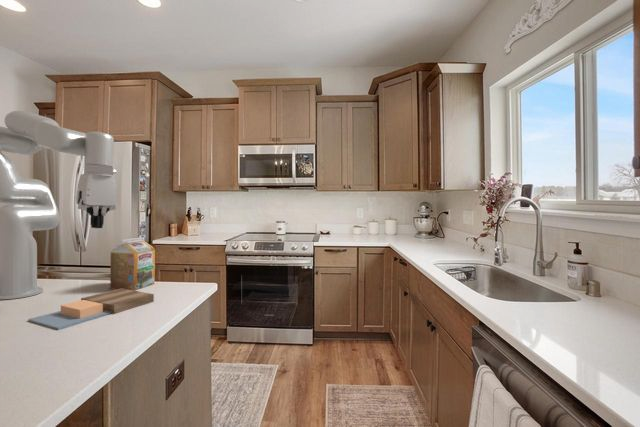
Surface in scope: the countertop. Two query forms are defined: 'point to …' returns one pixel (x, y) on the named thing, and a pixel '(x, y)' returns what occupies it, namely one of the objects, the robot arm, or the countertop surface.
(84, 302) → the tile
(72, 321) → the mat
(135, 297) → the stand
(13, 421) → the countertop surface
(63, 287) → the countertop surface
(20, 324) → the countertop surface
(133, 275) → the milk carton
